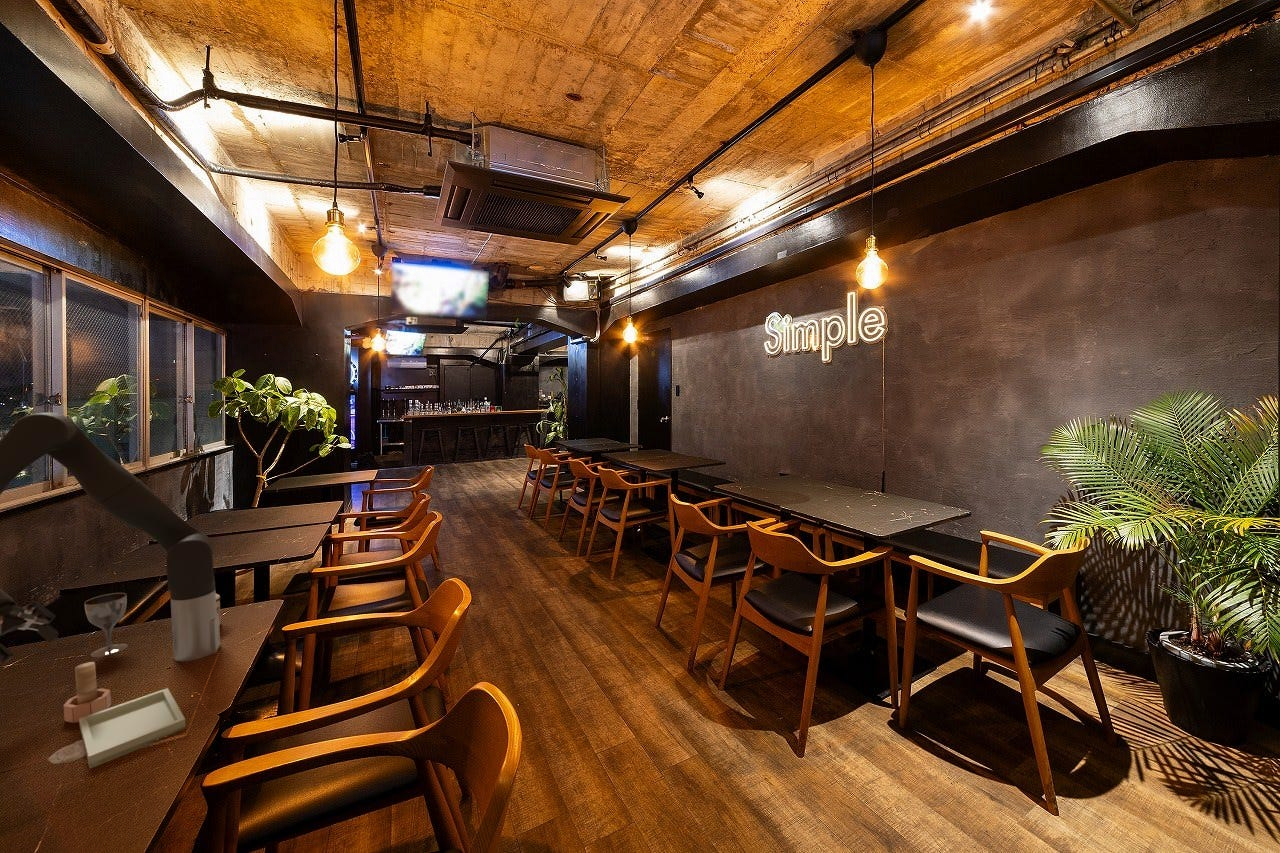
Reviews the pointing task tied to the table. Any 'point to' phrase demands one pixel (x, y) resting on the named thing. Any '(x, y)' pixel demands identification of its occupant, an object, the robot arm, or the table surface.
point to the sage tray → (130, 726)
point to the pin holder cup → (86, 706)
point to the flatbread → (68, 753)
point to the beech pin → (86, 682)
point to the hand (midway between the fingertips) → (32, 648)
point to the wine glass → (106, 618)
